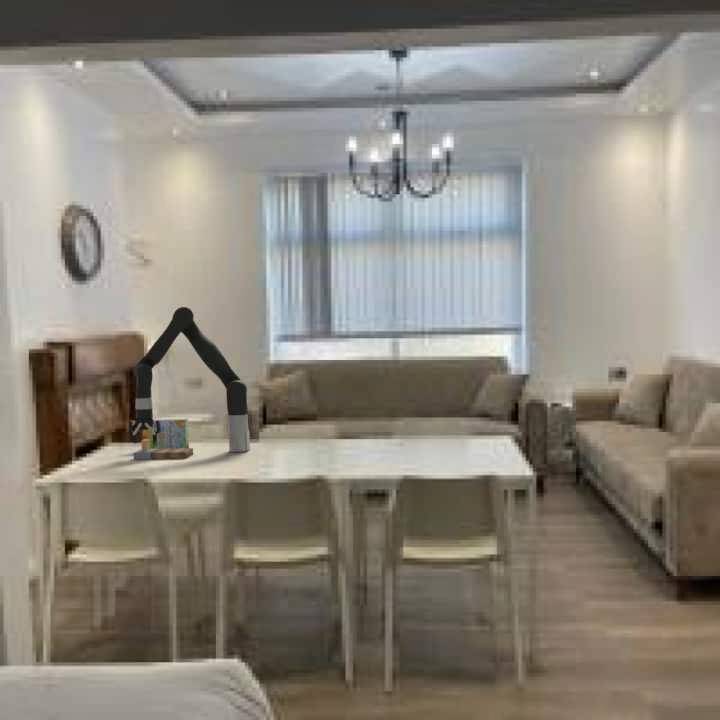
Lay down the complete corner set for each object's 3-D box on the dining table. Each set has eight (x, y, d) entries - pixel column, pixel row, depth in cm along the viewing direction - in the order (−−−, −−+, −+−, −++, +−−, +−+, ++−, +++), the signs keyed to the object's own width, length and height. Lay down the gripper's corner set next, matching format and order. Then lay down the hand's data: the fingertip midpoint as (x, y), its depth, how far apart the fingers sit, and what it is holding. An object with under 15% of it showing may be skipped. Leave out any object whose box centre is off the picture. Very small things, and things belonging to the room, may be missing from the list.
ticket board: (193, 454, 426) (192, 447, 426) (186, 458, 414) (186, 451, 414) (159, 455, 427) (158, 448, 427) (151, 459, 415) (151, 452, 415)
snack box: (189, 449, 445) (188, 418, 444) (186, 450, 439) (184, 419, 438) (147, 449, 447) (145, 419, 446) (143, 451, 441) (141, 420, 440)
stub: (158, 454, 427) (157, 437, 426) (151, 459, 415) (150, 441, 415) (141, 455, 427) (140, 438, 427) (133, 459, 415) (132, 441, 415)
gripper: (161, 406, 423) (162, 441, 424) (131, 407, 424) (132, 442, 425) (157, 408, 416) (158, 443, 417) (126, 408, 417) (127, 444, 418)
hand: (145, 442), depth 421 cm, fingers open, 8 cm apart
